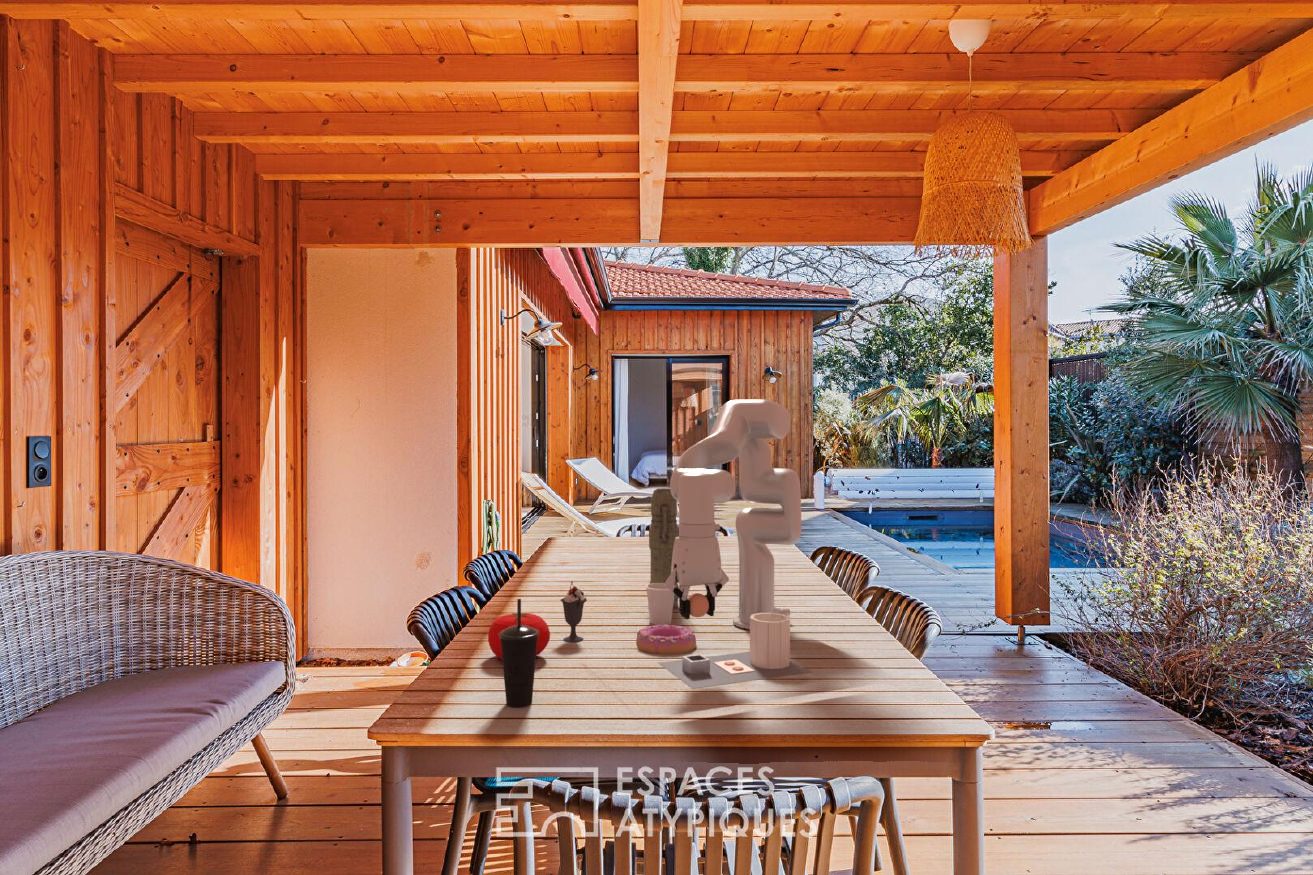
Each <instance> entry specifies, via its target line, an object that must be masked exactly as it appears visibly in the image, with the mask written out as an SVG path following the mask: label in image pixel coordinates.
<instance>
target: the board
mask: <svg viewBox="0 0 1313 875" xmlns="http://www.w3.org/2000/svg"><path fill="white" fill-rule="evenodd" d="M705 657H706V658H708V659H710V674H707V675H699V676H690V675H688V674H687V673H685V672H684V671H683V670H682V659H678V660H670V661H662V662H658V665H660V666H661V667H663V668H664V669H666V670H667V671H668V673H669V672H670V673H671V674H672V675H673V676H674V677H676V678H678V679H679V680H680V681H682V682H683V683H684V684H686V686H688V687H690V688H691V689H692V690H693V689H701V688H707V687H714V686H723V685H728V684H729V685H730V684H736V683H737V684H738V683H742V682H743V683H744V682H750V681H759V680H765V679H773V678H779V677H781V678H782V677H787V676H795V675H802V674H808V673H809V674H810V673H812V671H811V670H810V669H807V668H805V667H803V666H801V665H799V664H798V663H796V662H794V661H792V660H790V665H789V666H788V667H784V668H780V669H766V668H760V667H756V666H754V665H752V664H750V651H744V652H736V653H727V654H720V655H718V654H717V655H711V656H705Z"/></svg>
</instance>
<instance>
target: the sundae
mask: <svg viewBox="0 0 1313 875" xmlns="http://www.w3.org/2000/svg"><path fill="white" fill-rule="evenodd" d="M572 586H573V587H572ZM569 588H570V589H569V590H568V591H567V592H566V594H565V596H564V597H563V598H561V599H559V601H560V602H561V603H562V607H563V614H564V620H565V622H566V624H567V625H569V626H570V632H569V635H568V636H565V637H564V638H563V639H562V640H563V641H564V642H566V643H578V642H581V641H582V642H583V640H584V638H583V637H582V636H578V635H577V632H576V630H577V629H576V627H577V626H578V625H579V624H580V622H582V618H583V611H584V610H583V609H584V605H585V603H586V602H587V597H584V595H585V594H584V593H585V592H583V590H581V589H580V588H578V587H577V586H575V585H574V583H573V581H571V582H570V587H569Z"/></svg>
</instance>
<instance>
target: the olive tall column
mask: <svg viewBox="0 0 1313 875" xmlns="http://www.w3.org/2000/svg"><path fill="white" fill-rule="evenodd" d="M650 503H651V504H650V506H651V508H650V509H651V510H650V514H651V520H650V527H649V529H648V547H649V550H650V581H649V584H652V583H665V582H666V580H667V579H668V577H669V576H670V574H671V566H672V554H673V547H674V542H675V538H676V537H679V525H678V524H677V523H678V522H677V521H678V520H677V516H678V512H677V510H678V509H677V508H678V506H677V505H678V500H676V499H675V498H674V497H673V496H672V494H671V491H670V488H664V487H661V488H656V489H655V490H653V492H652V495H651V499H650ZM674 585H675V586H676V587H677V588H679V583H676V582H674ZM675 608H676V609H677V608H678V609H679V598H678V597H677V596H676V595H674V603H673V610H675Z"/></svg>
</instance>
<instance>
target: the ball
mask: <svg viewBox="0 0 1313 875" xmlns="http://www.w3.org/2000/svg"><path fill="white" fill-rule="evenodd" d="M688 600H689V601H690V617H691V616H692V617H693V618H701V617H703V616H705V615H707V614H706V613H707V611H708V609H709V602H708V600H707V598H706V597H705V594H703V593H699V592H698V593H697V592H696V593H692V594H690V595H688Z"/></svg>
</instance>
